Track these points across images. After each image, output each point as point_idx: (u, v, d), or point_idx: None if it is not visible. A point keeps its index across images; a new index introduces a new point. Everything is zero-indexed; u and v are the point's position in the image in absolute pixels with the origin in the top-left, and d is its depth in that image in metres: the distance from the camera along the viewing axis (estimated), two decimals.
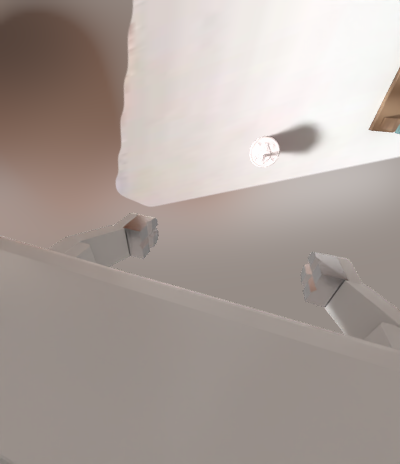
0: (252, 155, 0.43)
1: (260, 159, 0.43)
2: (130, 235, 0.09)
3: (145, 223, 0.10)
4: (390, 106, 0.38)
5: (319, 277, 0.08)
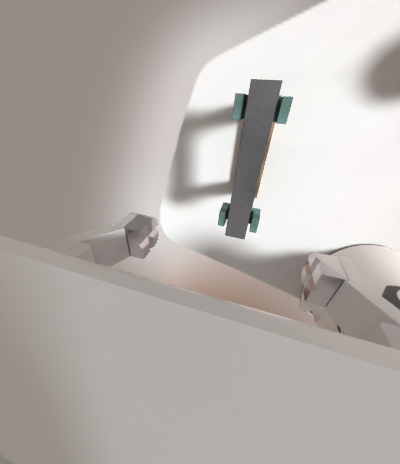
0: None
1: None
2: (130, 235, 0.09)
3: (145, 223, 0.10)
4: None
5: (319, 277, 0.08)
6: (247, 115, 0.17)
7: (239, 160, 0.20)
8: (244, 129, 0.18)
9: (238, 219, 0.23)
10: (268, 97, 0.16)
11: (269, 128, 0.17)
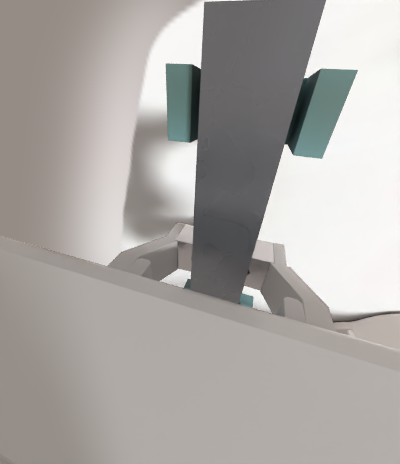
0: None
1: None
2: (182, 248, 0.09)
3: None
4: None
5: None
6: (205, 132, 0.06)
7: (197, 238, 0.08)
8: (200, 170, 0.06)
9: None
10: (268, 71, 0.05)
11: (272, 171, 0.06)
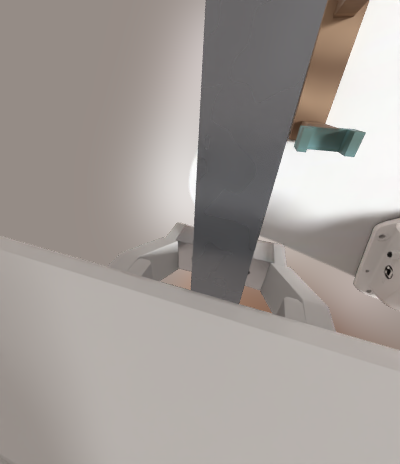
0: None
1: None
2: (183, 248, 0.09)
3: None
4: (343, 40, 0.22)
5: None
6: (206, 129, 0.06)
7: (198, 237, 0.08)
8: (201, 168, 0.06)
9: None
10: (271, 68, 0.05)
11: (273, 169, 0.06)
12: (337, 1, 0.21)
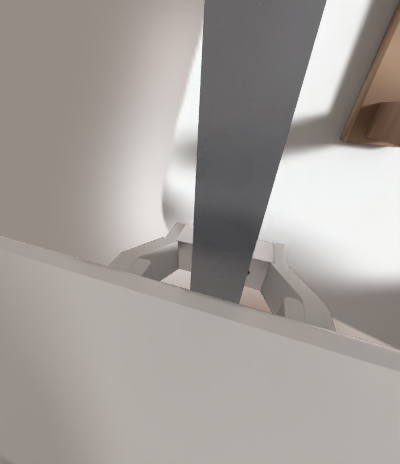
0: None
1: None
2: (183, 248, 0.09)
3: None
4: None
5: None
6: (205, 130, 0.06)
7: (197, 238, 0.08)
8: (201, 169, 0.06)
9: None
10: (270, 69, 0.05)
11: (273, 170, 0.06)
12: None
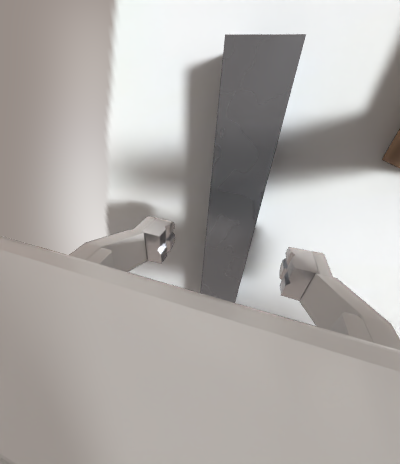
0: None
1: None
2: (149, 240, 0.09)
3: (164, 227, 0.09)
4: None
5: (292, 271, 0.08)
6: (222, 124, 0.08)
7: (212, 210, 0.10)
8: (217, 153, 0.08)
9: None
10: (269, 80, 0.07)
11: (271, 152, 0.08)
12: None
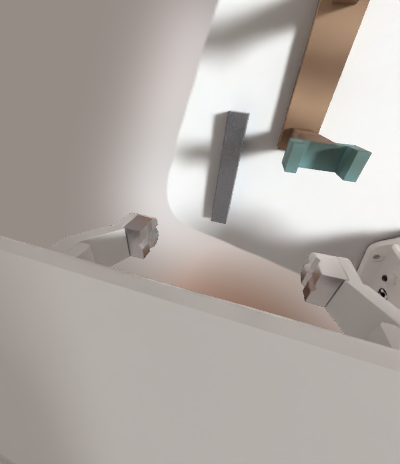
0: None
1: None
2: (130, 235, 0.09)
3: (145, 223, 0.10)
4: (343, 34, 0.18)
5: (319, 277, 0.08)
6: (226, 134, 0.25)
7: (221, 165, 0.27)
8: (224, 143, 0.26)
9: (221, 208, 0.31)
10: (240, 123, 0.24)
11: (241, 144, 0.25)
12: None
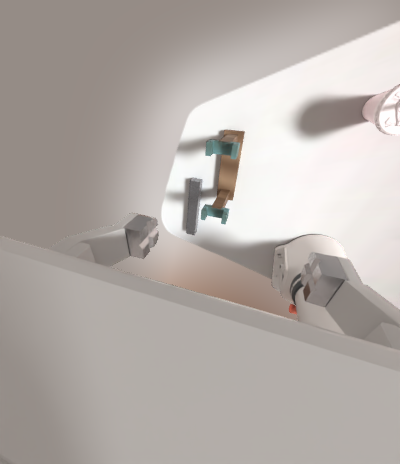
0: None
1: None
2: (130, 235, 0.09)
3: (145, 223, 0.10)
4: None
5: (319, 277, 0.08)
6: (190, 190, 0.48)
7: (189, 204, 0.50)
8: (189, 194, 0.49)
9: (191, 226, 0.54)
10: (196, 186, 0.47)
11: (198, 195, 0.48)
12: None
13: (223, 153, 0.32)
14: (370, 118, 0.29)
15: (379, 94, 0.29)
